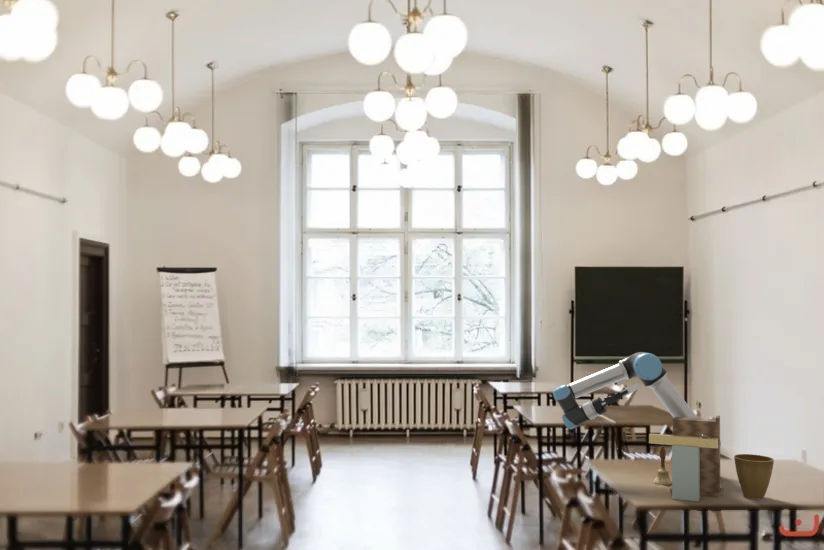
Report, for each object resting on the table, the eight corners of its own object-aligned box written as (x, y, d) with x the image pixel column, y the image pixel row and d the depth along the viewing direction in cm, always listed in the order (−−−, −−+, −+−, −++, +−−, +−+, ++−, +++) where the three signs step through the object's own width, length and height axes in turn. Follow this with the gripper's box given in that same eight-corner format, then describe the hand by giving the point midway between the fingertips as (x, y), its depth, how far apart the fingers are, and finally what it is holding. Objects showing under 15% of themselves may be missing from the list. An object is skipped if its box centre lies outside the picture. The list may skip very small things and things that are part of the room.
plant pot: (728, 496, 322) (727, 457, 322) (743, 491, 332) (743, 452, 333) (765, 503, 311) (765, 462, 312) (780, 497, 322) (779, 457, 322)
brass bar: (649, 443, 323) (649, 431, 324) (650, 442, 327) (650, 430, 327) (717, 448, 313) (717, 436, 313) (717, 447, 316) (717, 435, 316)
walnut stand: (669, 492, 329) (669, 415, 330) (673, 486, 339) (672, 412, 341) (721, 497, 320) (721, 418, 322) (723, 491, 331) (722, 415, 333)
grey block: (672, 498, 317) (671, 445, 318) (673, 495, 324) (673, 443, 325) (698, 501, 313) (698, 447, 314) (699, 497, 320) (699, 445, 320)
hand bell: (673, 485, 342) (673, 448, 343) (653, 484, 344) (653, 447, 344) (671, 481, 350) (671, 445, 351) (652, 480, 352) (652, 444, 353)
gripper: (604, 412, 369) (645, 391, 362) (593, 418, 346) (637, 396, 339) (596, 397, 371) (636, 376, 364) (585, 403, 348) (628, 380, 341)
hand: (637, 386), depth 351 cm, fingers open, 13 cm apart
